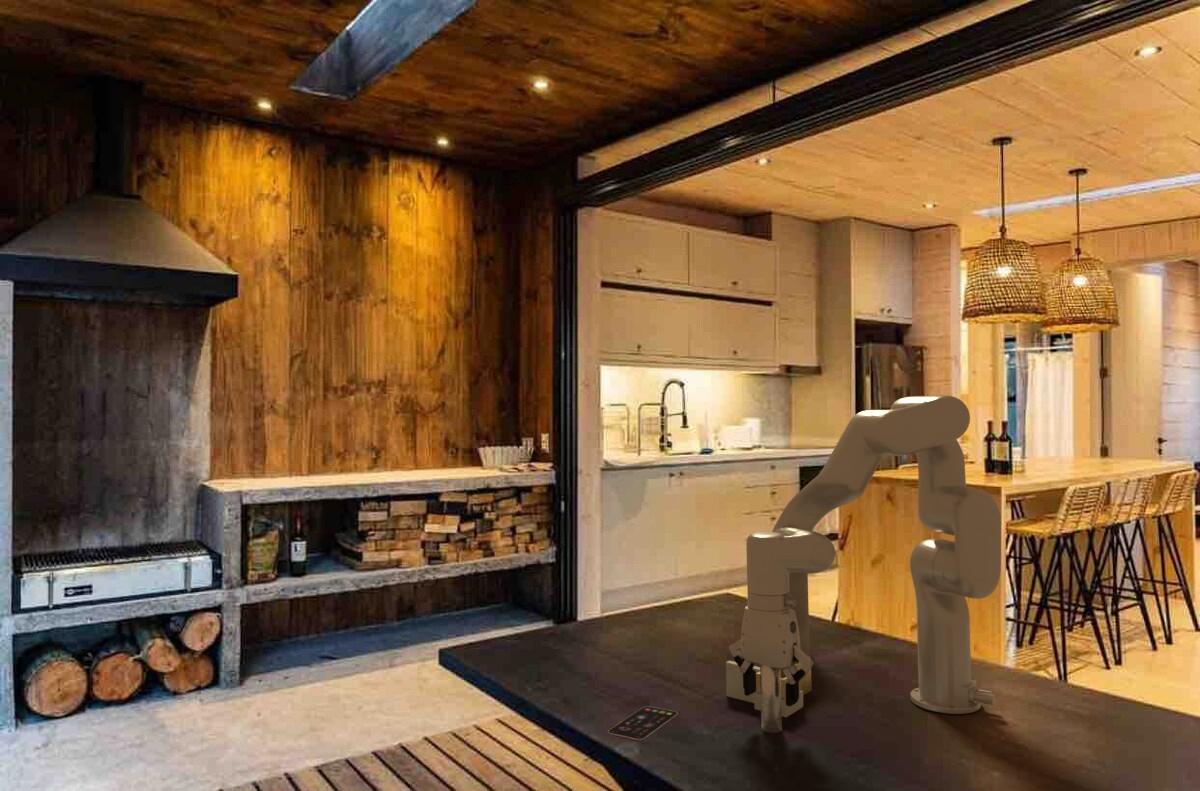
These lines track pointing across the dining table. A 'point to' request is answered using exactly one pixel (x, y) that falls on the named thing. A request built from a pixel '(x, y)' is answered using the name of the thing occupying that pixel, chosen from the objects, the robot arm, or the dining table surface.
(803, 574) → the thermos bottle
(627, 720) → the smartphone
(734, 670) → the loose leaf
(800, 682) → the fixed leaf
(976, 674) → the dining table surface
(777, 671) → the pin
